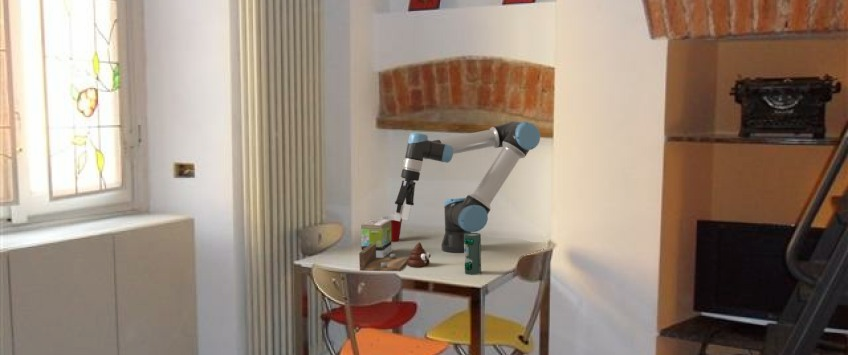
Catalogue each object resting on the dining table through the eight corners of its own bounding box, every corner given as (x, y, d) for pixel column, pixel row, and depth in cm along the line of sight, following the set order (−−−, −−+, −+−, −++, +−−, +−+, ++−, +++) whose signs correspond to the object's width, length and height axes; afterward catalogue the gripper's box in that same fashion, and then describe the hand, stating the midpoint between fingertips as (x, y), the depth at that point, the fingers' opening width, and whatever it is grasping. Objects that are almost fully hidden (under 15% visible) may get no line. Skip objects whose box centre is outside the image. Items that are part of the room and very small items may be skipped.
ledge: (408, 260, 312) (408, 243, 311) (399, 271, 292) (399, 253, 291) (371, 259, 314) (371, 243, 314) (359, 270, 295) (359, 253, 294)
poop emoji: (416, 262, 308) (415, 239, 307) (434, 263, 304) (433, 241, 303) (403, 267, 300) (402, 244, 299) (421, 268, 295) (421, 245, 294)
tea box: (383, 259, 316) (382, 224, 314) (361, 258, 318) (359, 224, 316) (392, 252, 330) (391, 218, 329) (370, 251, 332) (369, 218, 331)
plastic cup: (376, 241, 355) (375, 216, 354) (391, 238, 364) (390, 213, 363) (394, 243, 349) (393, 218, 348) (408, 240, 357) (407, 215, 356)
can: (464, 271, 289) (463, 233, 288) (479, 270, 289) (479, 232, 288) (466, 274, 283) (465, 235, 282) (481, 274, 283) (481, 235, 282)
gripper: (410, 169, 321) (399, 217, 321) (395, 166, 297) (384, 219, 297) (426, 172, 319) (416, 221, 320) (413, 170, 295) (402, 223, 295)
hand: (400, 220), depth 308 cm, fingers open, 13 cm apart
